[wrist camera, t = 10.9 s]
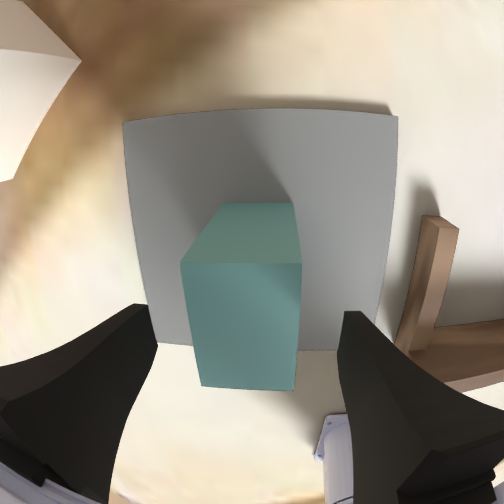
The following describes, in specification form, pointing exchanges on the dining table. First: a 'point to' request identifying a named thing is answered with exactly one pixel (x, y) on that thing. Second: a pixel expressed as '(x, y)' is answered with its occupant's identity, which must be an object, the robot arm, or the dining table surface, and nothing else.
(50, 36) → the milk
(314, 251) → the board
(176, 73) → the dining table surface
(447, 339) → the bay
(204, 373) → the block
